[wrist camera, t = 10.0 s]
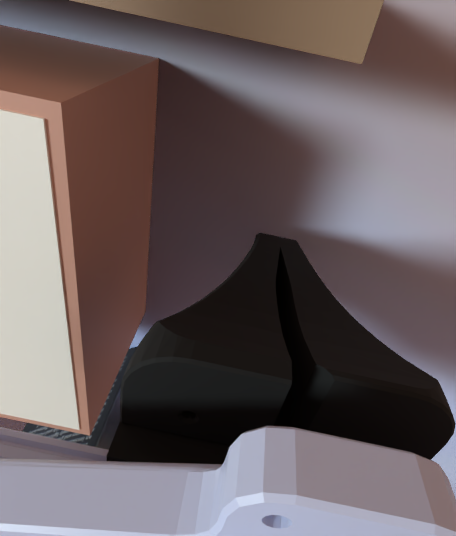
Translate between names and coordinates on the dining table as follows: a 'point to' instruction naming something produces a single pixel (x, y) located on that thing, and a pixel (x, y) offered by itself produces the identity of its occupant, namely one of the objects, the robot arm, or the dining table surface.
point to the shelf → (271, 21)
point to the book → (71, 222)
